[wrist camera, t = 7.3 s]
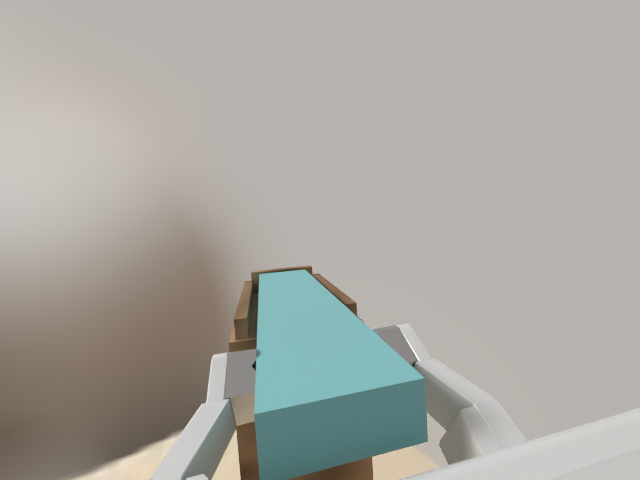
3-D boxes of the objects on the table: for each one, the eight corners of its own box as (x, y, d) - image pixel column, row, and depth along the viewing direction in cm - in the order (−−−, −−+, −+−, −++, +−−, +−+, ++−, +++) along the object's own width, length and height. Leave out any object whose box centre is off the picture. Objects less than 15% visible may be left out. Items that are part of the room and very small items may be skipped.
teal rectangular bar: (260, 486, 6) (254, 414, 6) (260, 292, 26) (259, 274, 26) (427, 441, 7) (425, 377, 7) (306, 287, 27) (304, 269, 27)
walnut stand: (265, 756, 16) (225, 307, 15) (263, 535, 28) (241, 272, 26) (385, 697, 18) (362, 290, 16) (336, 512, 30) (319, 264, 28)
